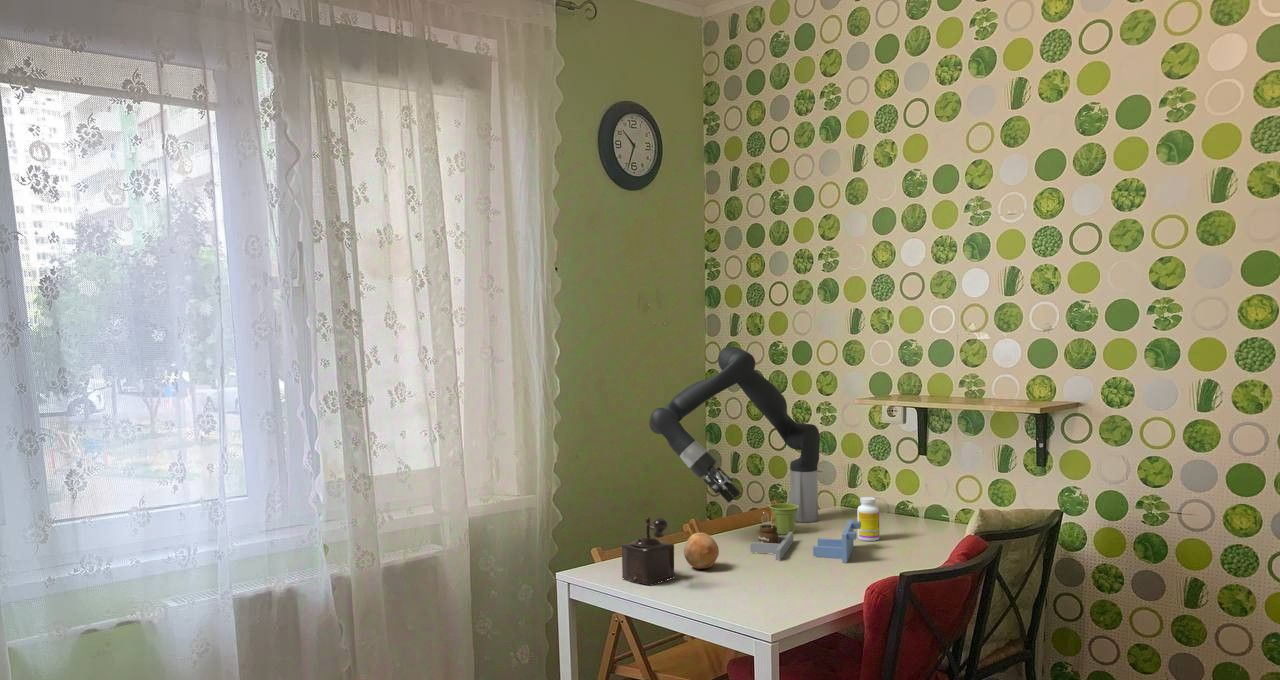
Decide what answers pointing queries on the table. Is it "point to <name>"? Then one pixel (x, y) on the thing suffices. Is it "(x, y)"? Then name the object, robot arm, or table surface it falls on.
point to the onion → (701, 551)
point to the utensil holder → (768, 532)
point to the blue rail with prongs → (838, 544)
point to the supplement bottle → (868, 519)
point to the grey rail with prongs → (773, 546)
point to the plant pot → (784, 517)
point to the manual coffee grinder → (649, 556)
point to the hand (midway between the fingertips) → (734, 497)
